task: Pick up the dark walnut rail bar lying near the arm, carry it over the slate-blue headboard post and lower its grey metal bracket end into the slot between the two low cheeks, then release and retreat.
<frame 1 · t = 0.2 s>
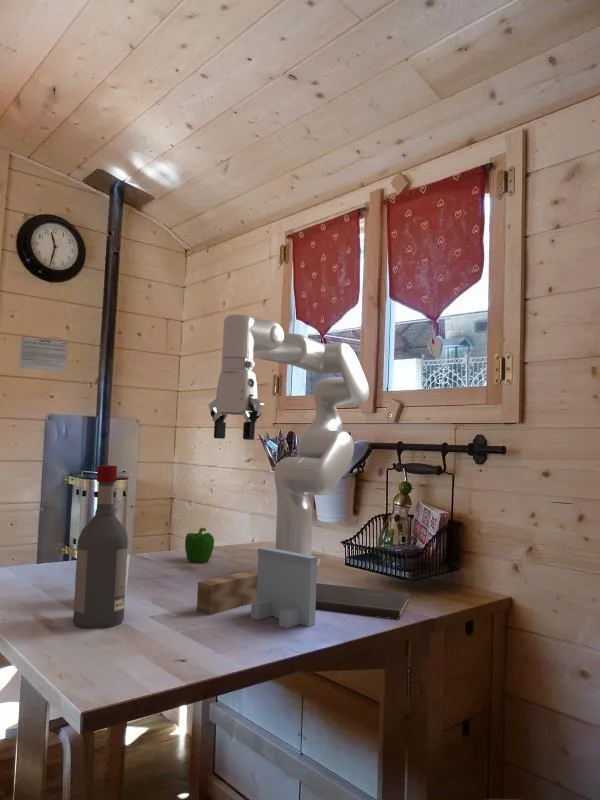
hand: (233, 439, 144), 36 cm above the table, tool pointing down, fingers open, 9 cm apart
bell pepper: (198, 562, 177), on the table
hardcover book: (353, 607, 138), on the table
headboard: (275, 620, 123), on the table
white cup: (108, 603, 132), on the table
rail: (230, 605, 132), on the table
liquor: (98, 622, 118), on the table
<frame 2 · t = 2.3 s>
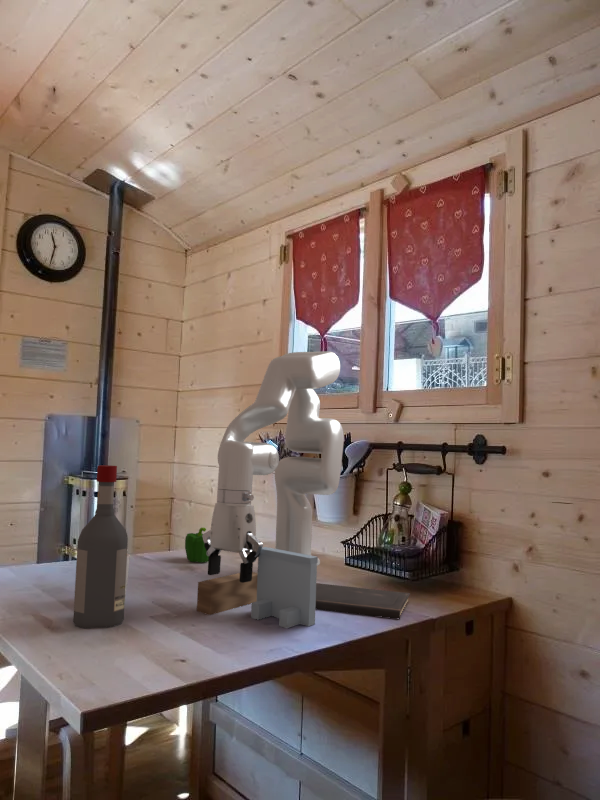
hand: (229, 577, 132), 6 cm above the table, tool pointing down, fingers open, 9 cm apart
nothing on the table moved.
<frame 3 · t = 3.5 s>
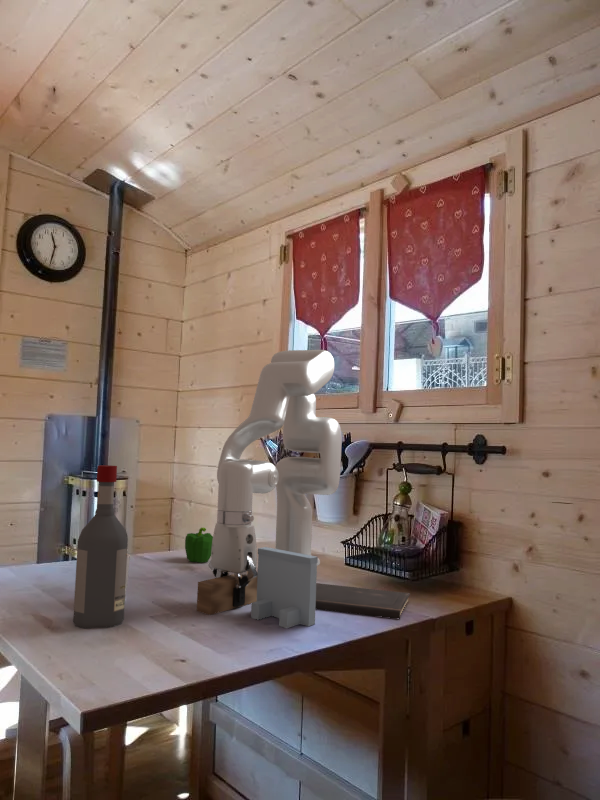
hand: (230, 602, 133), 1 cm above the table, tool pointing down, fingers closed on rail, 4 cm apart
rail: (230, 605, 132), on the table, touching gripper
everything else where it was.
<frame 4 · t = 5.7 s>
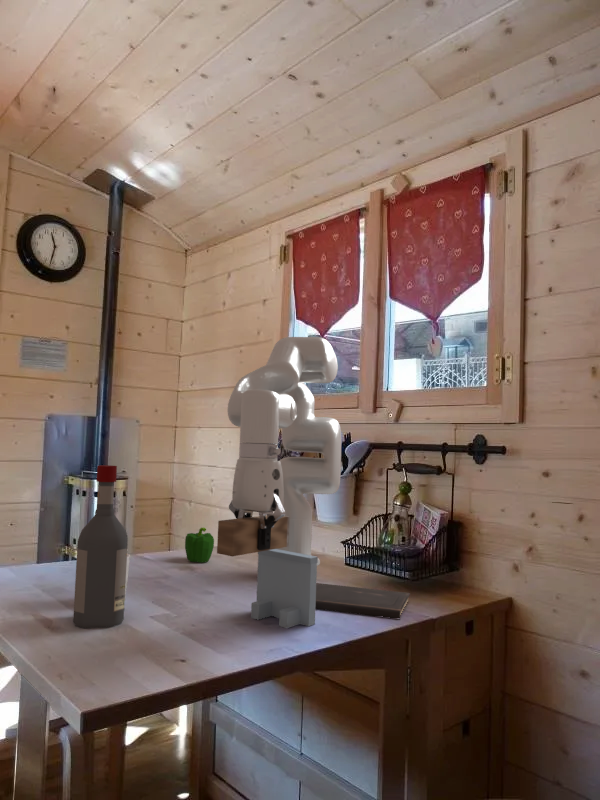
hand: (254, 546, 118), 15 cm above the table, tool pointing down, fingers closed on rail, 4 cm apart
rail: (254, 549, 118), point 15 cm above the table, touching gripper
everything else where it was.
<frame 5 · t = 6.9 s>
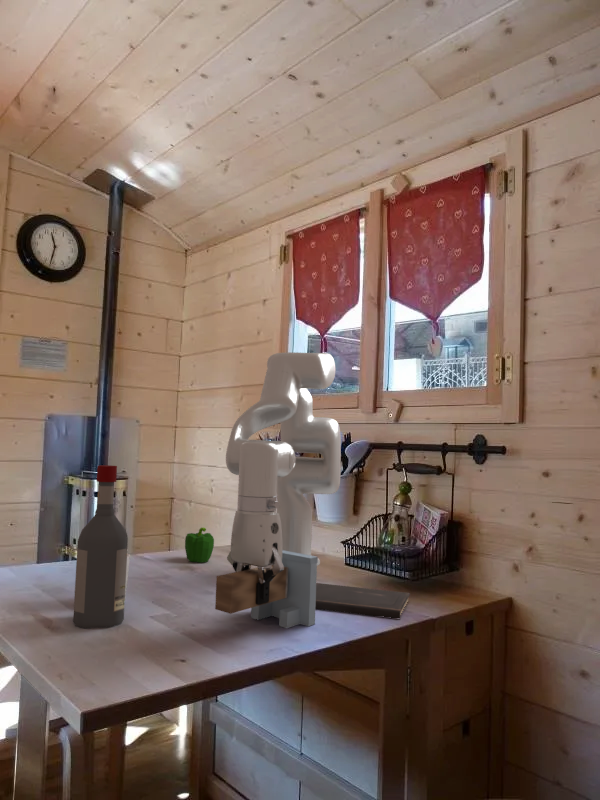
hand: (253, 599, 118), 5 cm above the table, tool pointing down, fingers closed on rail, 4 cm apart
rail: (252, 603, 118), point 5 cm above the table, touching gripper
everything else where it was.
when the fingers open (2 cm above the table, at t = 8.0 s): rail stays where it is, on the table.
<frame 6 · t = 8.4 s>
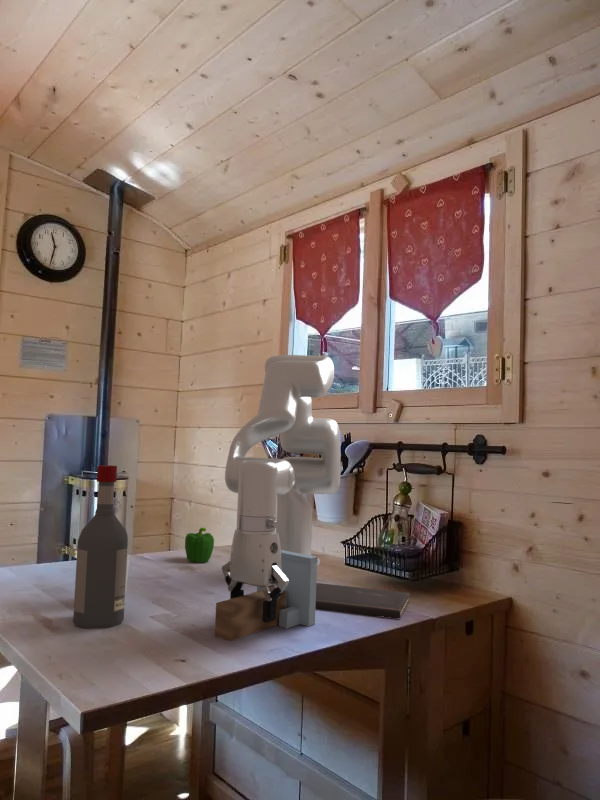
hand: (252, 615, 117), 2 cm above the table, tool pointing down, fingers open, 8 cm apart
rail: (251, 628, 117), on the table
everything else where it was.
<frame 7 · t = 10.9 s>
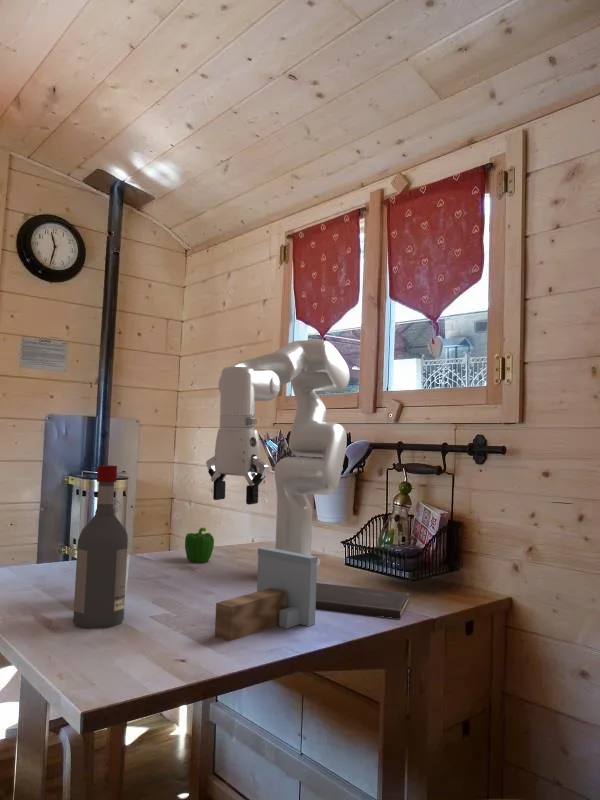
hand: (235, 501, 133), 22 cm above the table, tool pointing down, fingers open, 9 cm apart
nothing on the table moved.
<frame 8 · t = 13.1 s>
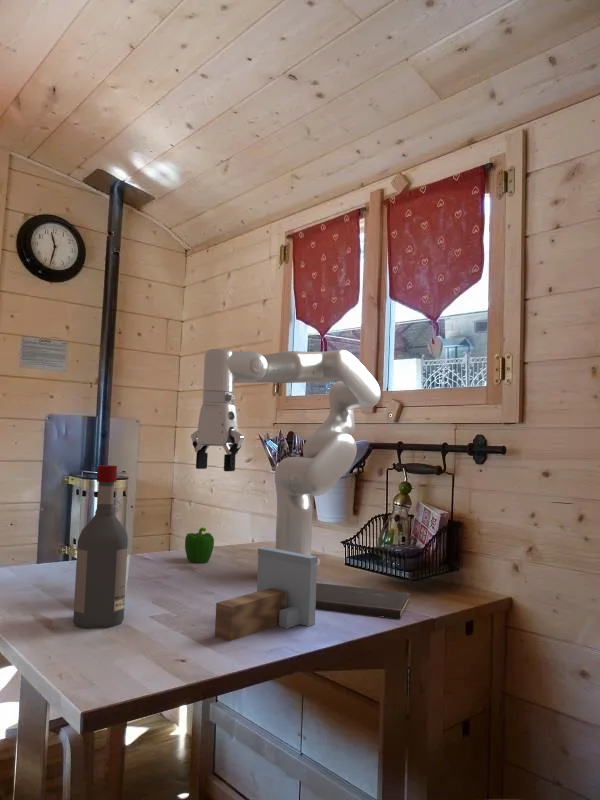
hand: (215, 469, 148), 28 cm above the table, tool pointing down, fingers open, 9 cm apart
nothing on the table moved.
at the end: rail 0.3 cm from the target spot on the table beside the headboard, on the table; rail tilted 0°; the gripper is holding nothing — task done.
